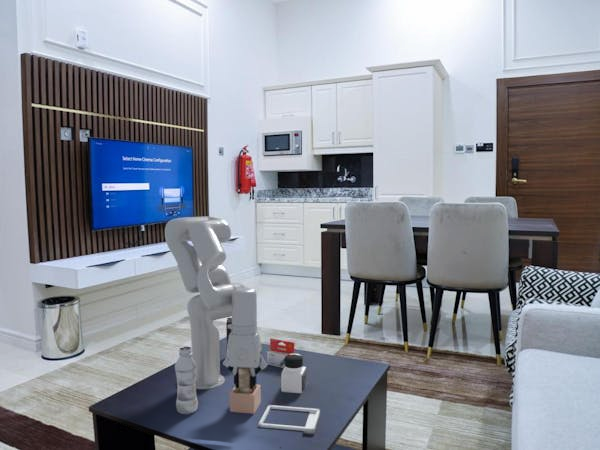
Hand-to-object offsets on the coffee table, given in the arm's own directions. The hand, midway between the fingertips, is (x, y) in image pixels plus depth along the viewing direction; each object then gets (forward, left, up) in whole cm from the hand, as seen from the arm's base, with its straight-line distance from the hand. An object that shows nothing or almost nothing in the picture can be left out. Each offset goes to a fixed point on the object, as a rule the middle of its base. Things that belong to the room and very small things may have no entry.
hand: (245, 386), depth 149 cm
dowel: (0, 0, -6) cm, 6 cm away
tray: (+15, -5, -7) cm, 18 cm away
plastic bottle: (-17, -5, -7) cm, 19 cm away
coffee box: (-15, +40, -8) cm, 43 cm away
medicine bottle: (+12, +16, -8) cm, 21 cm away
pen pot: (0, 0, -7) cm, 7 cm away
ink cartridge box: (+3, +36, -8) cm, 37 cm away
